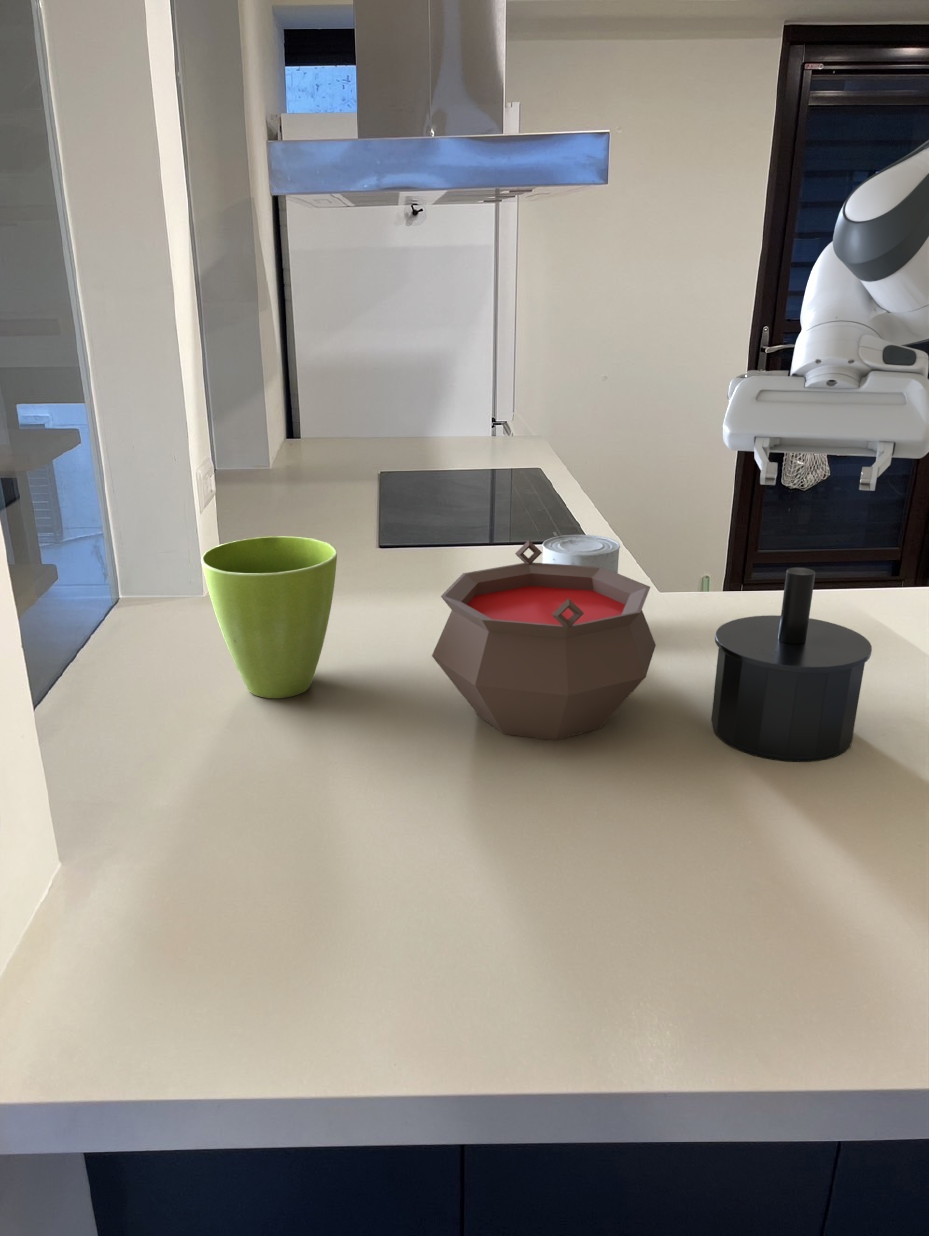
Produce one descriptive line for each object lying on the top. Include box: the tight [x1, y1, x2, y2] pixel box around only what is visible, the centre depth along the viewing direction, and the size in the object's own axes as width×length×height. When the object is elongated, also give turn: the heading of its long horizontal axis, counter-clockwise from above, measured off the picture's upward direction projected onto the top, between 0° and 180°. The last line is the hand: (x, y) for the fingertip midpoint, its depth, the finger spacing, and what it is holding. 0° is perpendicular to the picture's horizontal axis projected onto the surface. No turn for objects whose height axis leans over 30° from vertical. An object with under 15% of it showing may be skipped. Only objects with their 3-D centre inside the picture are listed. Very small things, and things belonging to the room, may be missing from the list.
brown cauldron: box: [431, 539, 657, 741], centre depth 107 cm, size 24×24×16 cm
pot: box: [710, 648, 866, 763], centre depth 102 cm, size 14×14×10 cm
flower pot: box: [200, 535, 338, 699], centre depth 115 cm, size 15×15×16 cm
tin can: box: [541, 534, 621, 574], centre depth 128 cm, size 10×10×12 cm
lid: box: [714, 567, 873, 673], centre depth 99 cm, size 15×15×8 cm
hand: (816, 484), depth 102 cm, fingers open, 8 cm apart
